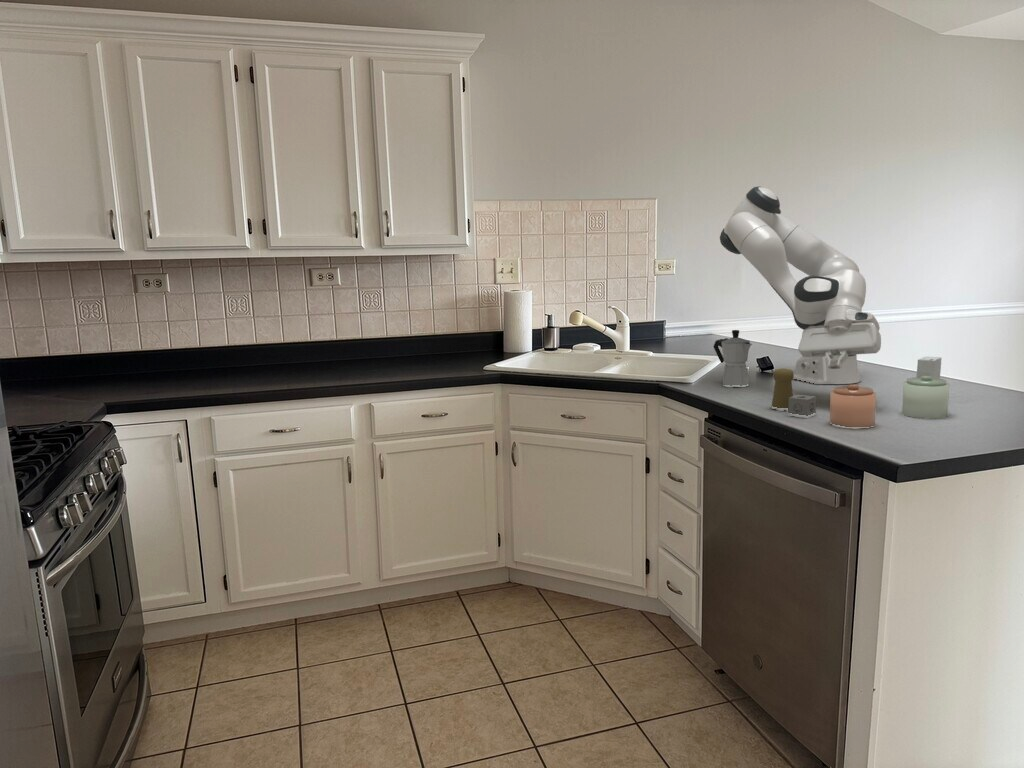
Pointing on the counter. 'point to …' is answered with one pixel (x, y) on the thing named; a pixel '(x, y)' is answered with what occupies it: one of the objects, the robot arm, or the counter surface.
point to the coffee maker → (734, 359)
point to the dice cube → (802, 405)
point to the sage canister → (925, 397)
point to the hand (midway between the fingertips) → (834, 367)
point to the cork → (782, 388)
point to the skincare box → (929, 367)
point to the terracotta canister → (853, 406)
